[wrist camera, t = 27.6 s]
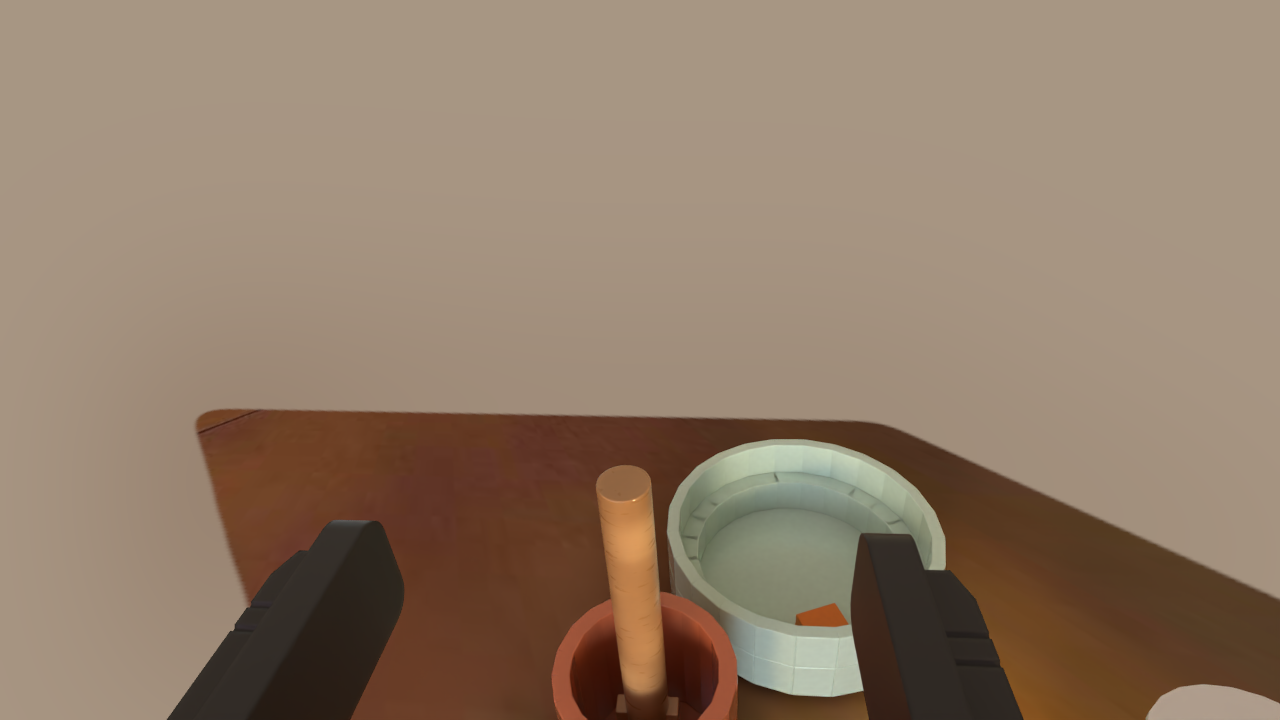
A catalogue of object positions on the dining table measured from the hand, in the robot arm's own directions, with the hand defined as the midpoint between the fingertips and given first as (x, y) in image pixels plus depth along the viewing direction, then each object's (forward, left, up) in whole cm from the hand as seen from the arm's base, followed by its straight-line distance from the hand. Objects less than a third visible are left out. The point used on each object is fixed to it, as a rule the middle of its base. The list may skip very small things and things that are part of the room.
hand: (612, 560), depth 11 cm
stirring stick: (+2, -12, -29) cm, 32 cm away
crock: (+2, -12, -30) cm, 32 cm away
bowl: (-7, -25, -30) cm, 40 cm away
